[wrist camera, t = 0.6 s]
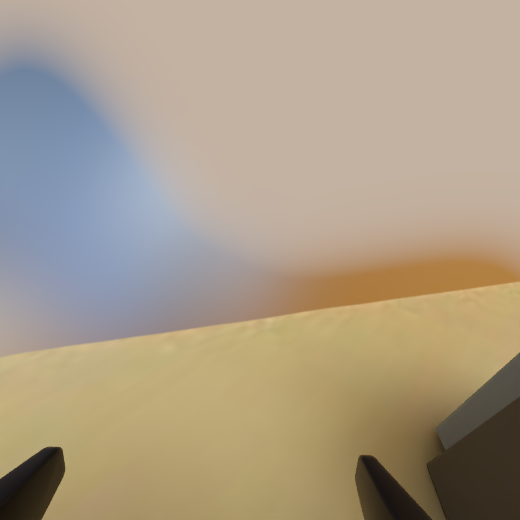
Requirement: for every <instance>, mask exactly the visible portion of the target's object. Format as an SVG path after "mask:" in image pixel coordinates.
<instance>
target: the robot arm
mask: <svg viewBox="0 0 520 520" xmlns="http://www.w3.org/2000/svg"><path fill="white" fill-rule="evenodd" d="M64 473H65V462H64V456H63V450H62V448H61V447H46V448H44V449H42V450H41V451H39V452H38V453H37V454H35V455H34V456H32V457H31V458H29V459H28V460H27V461H25V462H24V463H22V464H21V465H19V466H18V467H17V468H15V469H14V470H12V471H11V472H9V473H8V474H7V475H5V476H4V477H2V478H1V479H0V520H42V518H43V516H44V514H45V512H46V510H47V508H48V506H49V504H50V502H51V500H52V498H53V496H54V494H55V492H56V490H57V488H58V486H59V484H60V482H61V480H62V478H63V476H64ZM355 481H356V486H357V491H358V495H359V499H360V503H361V507H362V511H363V515H364V519H365V520H432V519H431V518H430V517H429V516H428V515H427V514H426V512H425V511H424V510H423V509H422V508H421V507H420V506H419V505H418V504H417V503H416V502H415V500H414V499H413V498H412V497H411V496H410V495H409V494H408V493H407V492H406V491H405V490H404V489H403V487H402V486H401V485H400V484H399V483H398V482H397V481H396V480H395V479H394V478H393V477H392V476H391V474H390V473H389V472H388V471H387V470H386V469H385V468H384V467H383V466H382V465H381V464H380V463H379V461H378V460H377V459H376V458H375V457H373V456H371V455H360V456H359V458H358V463H357V468H356V474H355Z"/></svg>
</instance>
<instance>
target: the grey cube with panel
mask: <svg viewBox="0 0 520 520" xmlns="http://www.w3.org/2000/svg"><path fill="white" fill-rule="evenodd" d="M436 431H437V433H438V435H439V438H440V440H441V442H442V444H443V447H444V449H445V451H444V452H442V453H441V454H440V455H438V456H437V457H436V458H434V459H433V460H431V461H430V462H429V463H427V467H428V470H429V472H430V475H431V478H432V480H433V483H434V485H435V488H436V491H437V493H438V496H439V499H440V501H441V504H442V506H443V509H444V512H445V514H446V517H447V520H520V353H519V354H518V355H516V356H515V357H514V358H513V359H512V360H511V361H510V362H509V363H507V364H506V365H505V366H504V367H503V368H502V369H501V370H500V371H499V372H497V373H496V374H495V375H494V376H493V377H492V378H491V379H490V380H488V381H487V382H486V383H485V384H484V385H483V386H482V387H481V388H480V389H478V390H477V391H476V392H475V393H474V394H473V395H472V396H471V397H470V398H468V399H467V400H466V401H465V402H464V403H463V404H462V405H461V406H459V407H458V408H457V409H456V410H455V411H454V412H453V413H452V414H451V415H449V416H448V417H447V418H446V419H445V420H444V421H443V422H442V423H441V424H439V425H438V426H437V427H436Z"/></svg>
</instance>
